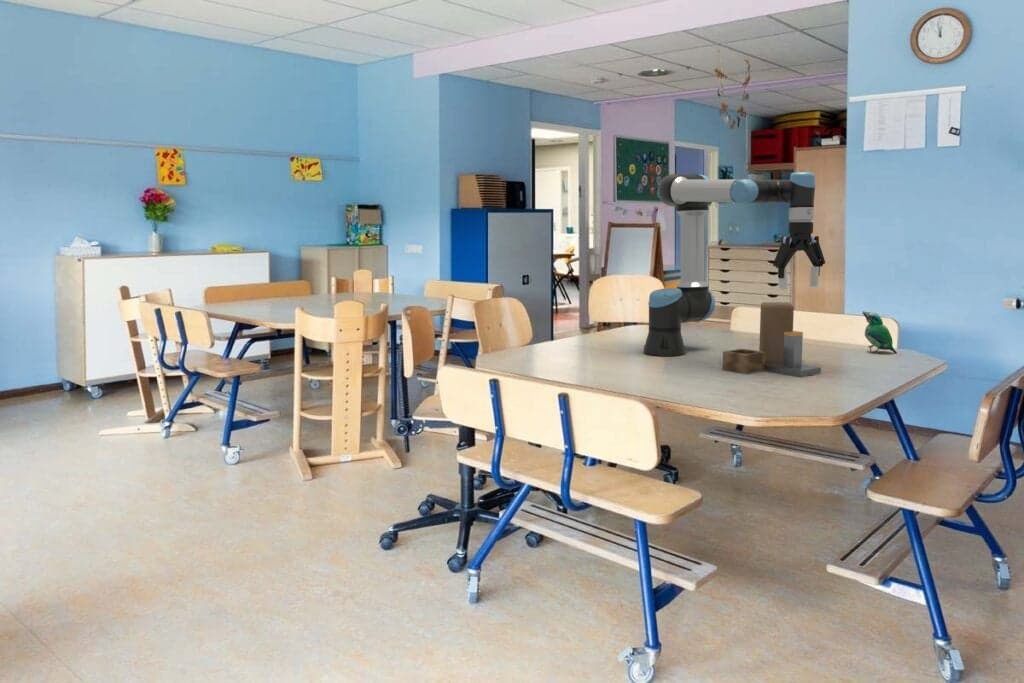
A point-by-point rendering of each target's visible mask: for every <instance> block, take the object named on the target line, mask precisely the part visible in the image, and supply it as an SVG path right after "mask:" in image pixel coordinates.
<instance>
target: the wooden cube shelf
mask: <svg viewBox="0 0 1024 683" xmlns="http://www.w3.org/2000/svg"><path fill="white" fill-rule="evenodd" d="M765 356H766V352H761V351H759V350H753V349H748V348H736V349H731V350H730V349H729V350H724V351H722V370H723V371H727V372H728V371H729V372H735V373H737V374H738V373H739V374H745V375H746V374H752V373H758V372H765V371H764V365H765V364H766V363H765Z"/></svg>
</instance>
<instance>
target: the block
mask: <svg viewBox="0 0 1024 683" xmlns="http://www.w3.org/2000/svg"><path fill="white" fill-rule="evenodd" d="M794 310H795V307H794V305H793V304H792V303H790V302H787V301H786V302H781V301H780V302H779V301H778V302H777V301H776V302H775V301H774V302H773V301H768V302H767V301H763V302H761V303H760V315H759V316H760V317H759V321H760V322H759V324H760V325H759V347H758V349H759V350H758V351H761V352H766V356H765V364H771V363H777V362H783V355H784V332H787V331H794V313H795V312H794Z"/></svg>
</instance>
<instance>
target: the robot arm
mask: <svg viewBox="0 0 1024 683" xmlns="http://www.w3.org/2000/svg"><path fill="white" fill-rule="evenodd" d="M789 176H790V177H789V179H750V178H743V179H731V178H730V179H729V178H728V179H711V178H709V177H708V176H706V175H704V174H698V173H697V174H696V173H694V174H693V173H691V174H690V173H687V174H686V173H681V174H680V173H673V174H669V175H666V176H665V177H663V178H662V179H661V180H660V181H659V183H658V186H657V195H658V198H659V200H660V201H661V202H662V203H663V204H665V205H666V206H668V207H676V208H675V211H676V213H677V215H678V216H679V217H680V219H679V220H680V282H679V283H678V284H677V285H676V287H669V288H659V289H656V290H653V291H652V292H651V293H650V294H649V298H648V333H647V337H646V339H645V344H644V345H643V354H645V355H647V356H648V355H649V356H656V357H676V356H683V355H686V349H687V348H686V346H685V345H684V344H685V343H684V340H683V335H682V324H683V323H684V324H685V323H693V322H694V323H698V322H702V321H705V320H708V319H709V318H710V317H711V316H712V314H713V313H714V311H715V308H716V299H715V295H713V292H711V291H710V290H709V284H708V283H707V282H706V281H705V215H706V214H707V213H709V206H710V205H712V204H713V203H729V204H731V203H732V204H737V203H738V204H743V205H744V204H768V205H769V204H788V206H789V207H788V208H789V209H788V221H790V222H789V223H788V234H789V236H782V237H781V242H780V245H779V248H778V250H777V253H776V256H775V258H774V259H773V260H774V261H773V263H772V266H773V267H775V268H776V269H777V270H778V271H777V277H778V289H780V290H781V289H782V290H787V289H788V268H787V266H788V265H789V262H790V261H791V259H792V258H793V257H794V255H795V253H797V252H801V251H803V252H804V253H805V254H806V256H807V258H808V259H809V261H810V263H811V264H812V266H810V276H809V277H810V278H809V286H810V287H815V288H818V287H819V277H820V274H821V273H820V272H821V269H820V268H821V267H823V265H825V264H826V260H825V257H824V255H823V250H822V248H821V245H820V238H819V236H818V235H812V234H813V233H814V222H813V221H814V216H815V211H814V210H815V204H814V202H815V192H816V175H815V173H814V172H811V171H810V172H809V171H804V172H803V171H800V172H797V171H796V172H792V173H790V175H789Z"/></svg>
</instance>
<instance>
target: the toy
mask: <svg viewBox="0 0 1024 683" xmlns="http://www.w3.org/2000/svg"><path fill="white" fill-rule="evenodd" d="M862 315H863V316H864V317H865V320H866V322H867V323H868V324H867V325H865V326H866V327H865V330H864V337H865V338H866V340H867V341H868V342H869V343H870V344H871V345H867V348H869V350H870V352H871V351H872V348H873V347H875V348H876V350H874V351H873V352H874V353H876V354H878V353H879V352H878V351H879V350H884V351H887V350H888V351H891V352H893V353H894V354H897V353H898V352H897V351H896V349H894V347H893V337H892V335H891V332H890V330H889V328H888V327H887V326H886V325H884V323H883V319H882V318H881V316H880V314H878V313H876V312H871V311H869V312H868V311H864V310H863V311H862Z"/></svg>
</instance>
